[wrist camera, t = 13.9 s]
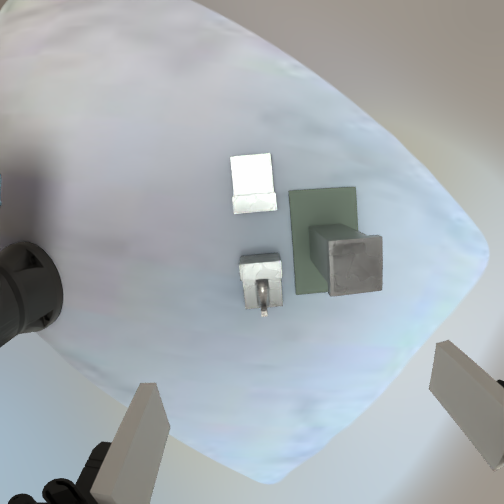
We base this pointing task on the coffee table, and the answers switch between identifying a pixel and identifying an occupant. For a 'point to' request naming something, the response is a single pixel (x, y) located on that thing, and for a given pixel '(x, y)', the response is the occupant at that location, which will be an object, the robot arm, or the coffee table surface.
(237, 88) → the coffee table surface
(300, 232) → the mat
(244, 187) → the silver metal blocks
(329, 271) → the bar
